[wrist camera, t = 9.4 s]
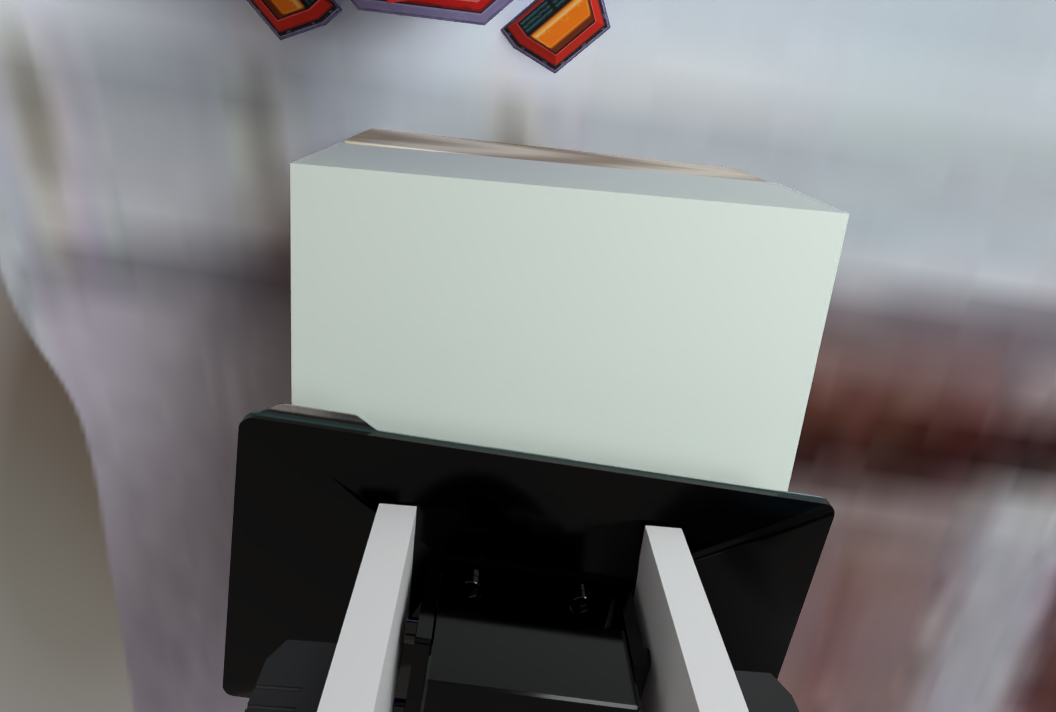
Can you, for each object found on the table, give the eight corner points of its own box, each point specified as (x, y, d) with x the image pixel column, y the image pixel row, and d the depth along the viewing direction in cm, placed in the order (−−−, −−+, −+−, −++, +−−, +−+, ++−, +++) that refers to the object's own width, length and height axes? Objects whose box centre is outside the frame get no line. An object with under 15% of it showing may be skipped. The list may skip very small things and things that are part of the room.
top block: (777, 182, 22) (849, 213, 18) (691, 633, 27) (729, 751, 23) (338, 142, 22) (290, 163, 17) (332, 610, 27) (293, 726, 22)
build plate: (226, 683, 19) (141, 869, 14) (245, 396, 16) (149, 517, 12) (745, 749, 20) (810, 942, 15) (836, 488, 17) (944, 630, 13)
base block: (735, 167, 27) (782, 188, 22) (662, 553, 32) (687, 636, 27) (373, 127, 26) (343, 140, 22) (356, 527, 31) (328, 608, 27)
